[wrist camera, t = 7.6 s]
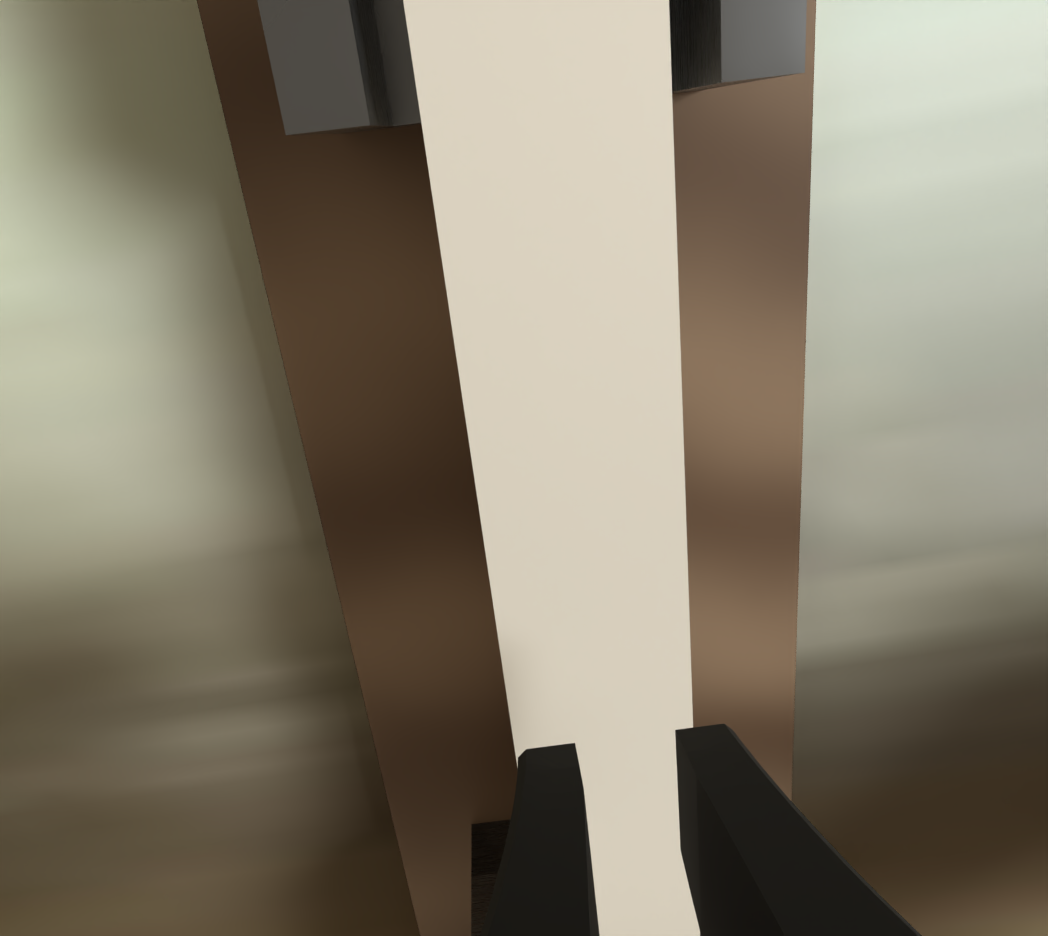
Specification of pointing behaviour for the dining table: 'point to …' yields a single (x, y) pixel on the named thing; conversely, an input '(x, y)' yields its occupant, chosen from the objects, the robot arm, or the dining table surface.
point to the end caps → (391, 101)
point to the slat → (574, 396)
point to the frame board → (443, 446)
